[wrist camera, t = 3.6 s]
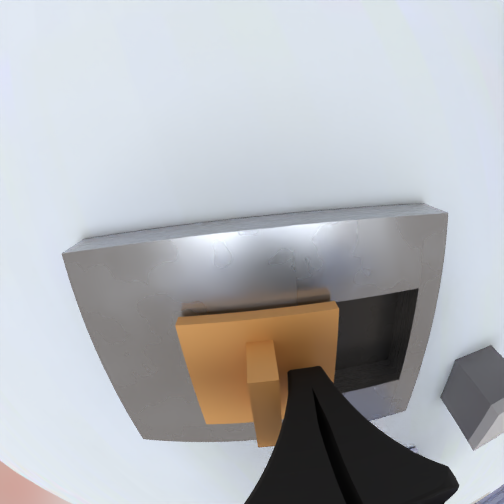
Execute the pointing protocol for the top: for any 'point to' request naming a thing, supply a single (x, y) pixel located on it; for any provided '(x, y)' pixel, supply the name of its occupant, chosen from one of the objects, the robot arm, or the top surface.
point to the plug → (477, 395)
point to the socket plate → (262, 302)
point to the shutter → (255, 360)
